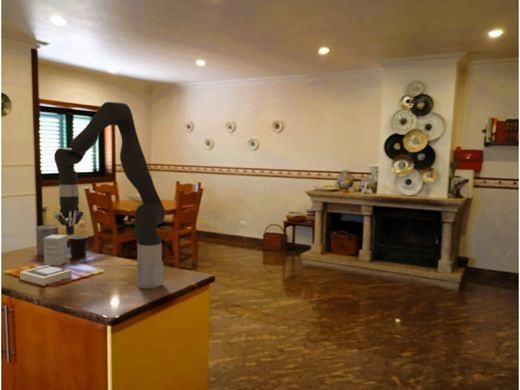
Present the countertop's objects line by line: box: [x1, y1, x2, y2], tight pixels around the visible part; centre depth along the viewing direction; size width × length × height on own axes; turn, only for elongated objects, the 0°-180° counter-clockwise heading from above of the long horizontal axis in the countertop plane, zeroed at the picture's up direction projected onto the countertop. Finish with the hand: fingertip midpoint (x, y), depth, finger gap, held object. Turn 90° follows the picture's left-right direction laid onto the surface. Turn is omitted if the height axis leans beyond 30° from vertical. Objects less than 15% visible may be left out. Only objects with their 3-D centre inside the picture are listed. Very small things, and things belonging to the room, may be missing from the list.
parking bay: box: [19, 264, 73, 286], centre depth 169 cm, size 15×13×3 cm
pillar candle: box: [36, 223, 59, 257], centre depth 206 cm, size 10×10×15 cm
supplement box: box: [43, 234, 68, 266], centre depth 191 cm, size 7×7×13 cm
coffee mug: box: [68, 234, 88, 260], centre depth 204 cm, size 12×9×10 cm
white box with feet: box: [35, 266, 64, 277], centre depth 171 cm, size 9×8×3 cm
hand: (70, 234), depth 178 cm, fingers closed
